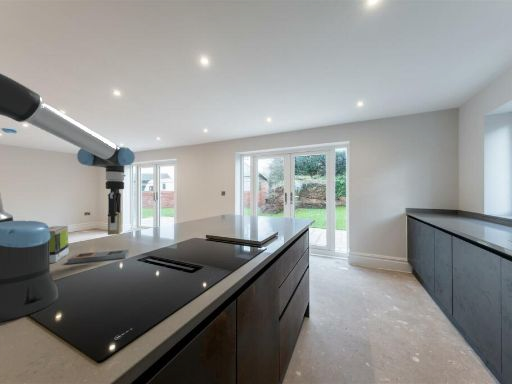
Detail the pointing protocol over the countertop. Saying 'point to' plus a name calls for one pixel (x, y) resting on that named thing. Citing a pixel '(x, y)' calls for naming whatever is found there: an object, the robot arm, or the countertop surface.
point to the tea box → (58, 242)
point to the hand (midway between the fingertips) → (114, 228)
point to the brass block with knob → (118, 231)
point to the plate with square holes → (98, 256)
